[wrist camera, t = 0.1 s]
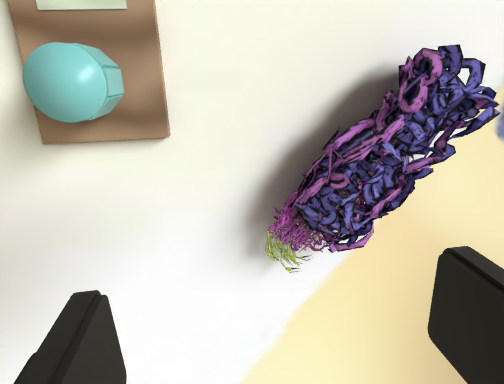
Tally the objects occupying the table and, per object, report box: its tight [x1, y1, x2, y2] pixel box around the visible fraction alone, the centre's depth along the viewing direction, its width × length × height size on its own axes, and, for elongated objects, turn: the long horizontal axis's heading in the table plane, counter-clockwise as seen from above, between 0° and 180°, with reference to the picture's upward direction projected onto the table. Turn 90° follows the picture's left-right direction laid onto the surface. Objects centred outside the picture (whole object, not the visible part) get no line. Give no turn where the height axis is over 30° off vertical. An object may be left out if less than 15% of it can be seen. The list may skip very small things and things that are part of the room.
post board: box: [8, 0, 170, 144], centre depth 29 cm, size 22×13×8 cm, turn 2°
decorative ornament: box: [265, 44, 500, 273], centre depth 37 cm, size 13×11×30 cm
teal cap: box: [23, 42, 124, 122], centre depth 29 cm, size 6×6×6 cm
